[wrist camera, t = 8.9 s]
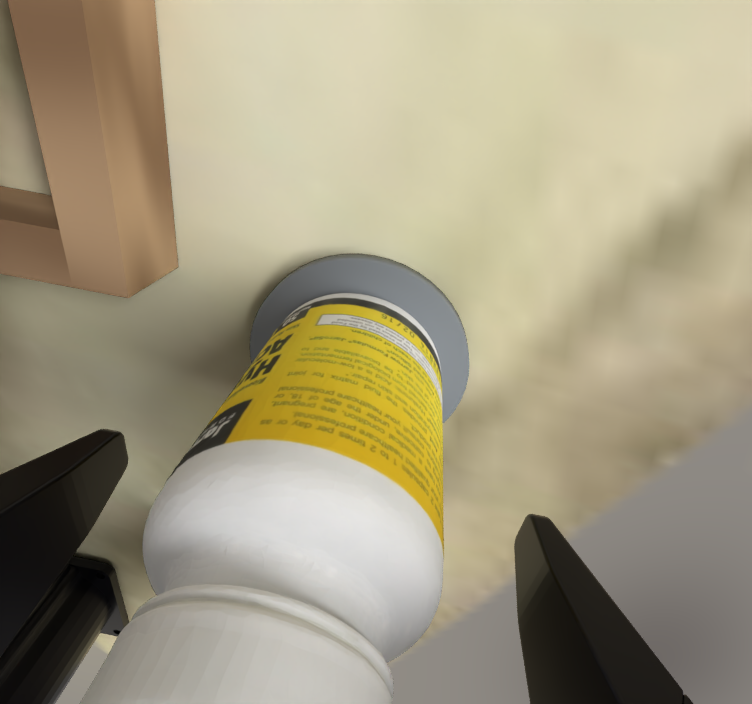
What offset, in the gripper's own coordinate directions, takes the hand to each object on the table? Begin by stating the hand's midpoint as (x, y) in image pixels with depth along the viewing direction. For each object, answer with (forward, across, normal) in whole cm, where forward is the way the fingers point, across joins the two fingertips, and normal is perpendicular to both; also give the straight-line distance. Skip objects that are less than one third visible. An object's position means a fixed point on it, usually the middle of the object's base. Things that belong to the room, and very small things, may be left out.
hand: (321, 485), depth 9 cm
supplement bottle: (+5, 0, 0) cm, 5 cm away
